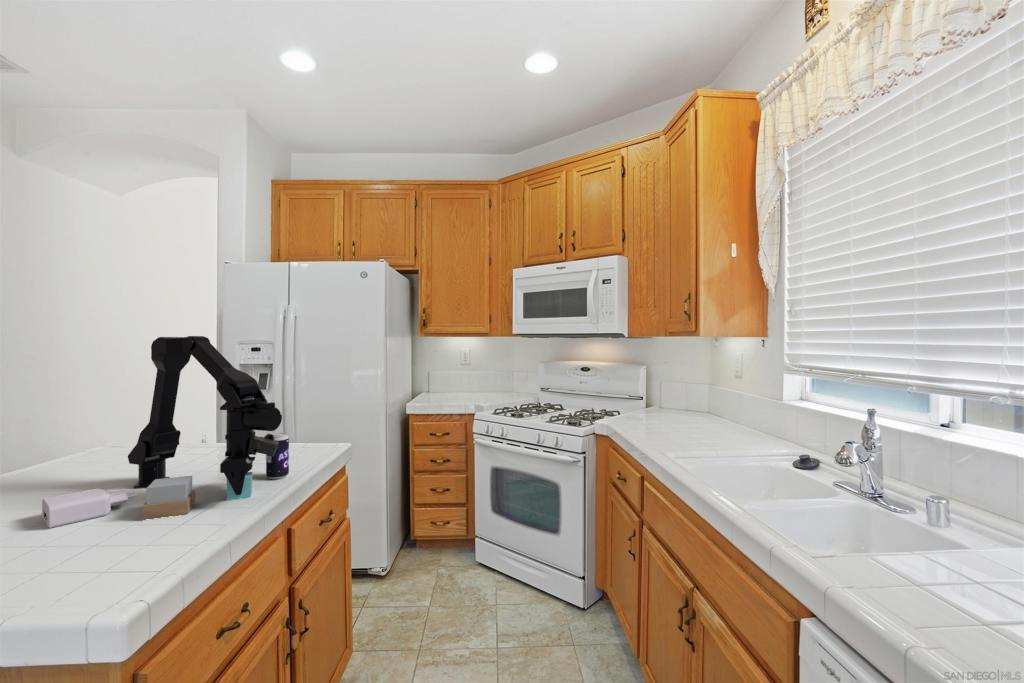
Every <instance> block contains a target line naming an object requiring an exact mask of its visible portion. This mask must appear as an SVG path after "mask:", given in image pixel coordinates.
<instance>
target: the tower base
mask: <svg viewBox="0 0 1024 683" xmlns="http://www.w3.org/2000/svg"><path fill="white" fill-rule="evenodd" d="M194 503H196V489H192V491H191V493H190V494H189V496H188V497H187V499H186V500H180V501H172V502H164V503H155V504H147V505H146V502H145V503H144V504H143V505H142V521H147V520H146V519H151V520H155V519H154V518H158V519H162V518H161V517H166V518H170V517H169V516H173V517H180V516H179V515H181V516H187V514H188V513H189V514H190V512H191V510H192V509H191V508H193V507H194V506H195V504H194ZM189 514H188V515H189Z"/></svg>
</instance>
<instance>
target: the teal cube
mask: <svg viewBox="0 0 1024 683" xmlns="http://www.w3.org/2000/svg"><path fill="white" fill-rule="evenodd" d="M252 494H253V471H248V472H247V473H246V474H245V479H244V484H243V489H242V494H241V495H236V494H235V492H234V490H233V488H232V487H231V485H230V483H229V481H228V479H227V478H226V501H227V500H228V501H232V500H231V499H236V500H241V499H240V498H243V499H249V498H248V497H252Z"/></svg>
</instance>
